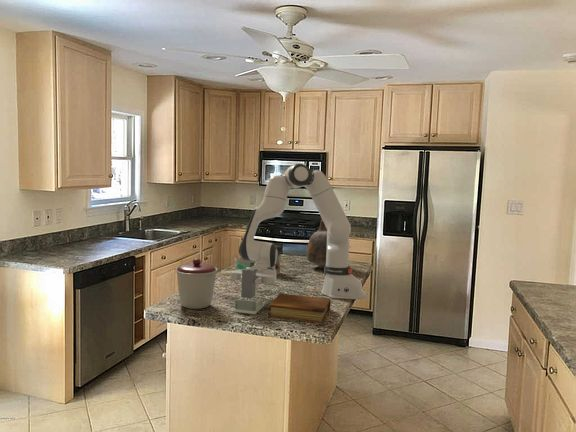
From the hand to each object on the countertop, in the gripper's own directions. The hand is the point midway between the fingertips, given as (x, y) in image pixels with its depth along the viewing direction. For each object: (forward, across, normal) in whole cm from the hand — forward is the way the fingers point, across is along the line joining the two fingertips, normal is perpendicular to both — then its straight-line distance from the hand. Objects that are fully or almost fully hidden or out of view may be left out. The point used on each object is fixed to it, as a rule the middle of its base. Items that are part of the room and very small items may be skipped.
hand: (248, 280), depth 202 cm
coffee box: (-69, -10, +13) cm, 71 cm away
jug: (-95, +16, +13) cm, 97 cm away
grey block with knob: (-1, 0, +7) cm, 7 cm away
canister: (+3, -23, +13) cm, 26 cm away
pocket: (-1, 0, +13) cm, 13 cm away
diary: (-4, +23, +13) cm, 27 cm away
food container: (-57, -23, +13) cm, 63 cm away
